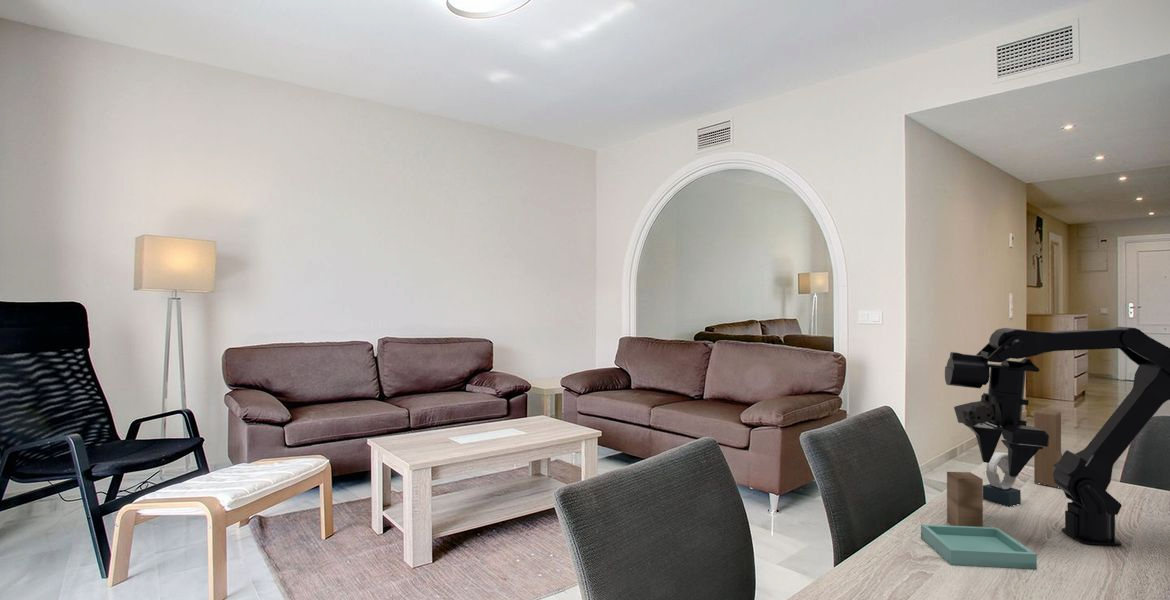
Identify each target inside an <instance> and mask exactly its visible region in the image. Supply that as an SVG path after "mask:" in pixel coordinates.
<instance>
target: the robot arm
mask: <svg viewBox="0 0 1170 600" xmlns="http://www.w3.org/2000/svg"><path fill="white" fill-rule="evenodd" d="M988 340H989V342H988V343H987V344H986V345H985V346H983V347H982V348H981V349H980V350H979V351H978V353H976V354H968V353H961V352H956V351H951V352H950V353H949V358H948V360H947V363H946V366H944V380H945V384H946V385H947V386H953V387H962V388H963V387H964V388H970V389H971V388H973V389H982V387H983V386H986V385H988V389H987V393H986V392H983V394H981V399H980V400H978V401H973V402H972V401H971V402H968V403H964V404H963V403H962V404H960V405H955V406H954V407H953V410H954V413H955V415H956V419H957V423H959V424H963V425H964V426H965V427H967V428H969V429H970V431H971V432H973V433H974V434H975V437H976V440H977V444H978V448H979V452H980V456H981V460H982V462H983V463H986V464H987V463H989V462H990V460H991V458H992V456H993V453H994V452H996V449H997V445H998V444H999V441H1000V442H1002V443H1003V445H1004V446H1005V448H1007V453H1008V467H1009V475H1010V476H1011V477H1016V478H1018V476H1019V474H1020V473H1021V471H1022V470H1023V469H1024V468H1025V466H1027V464H1028V462H1029V461H1030V460H1031V459H1032V458H1033V457H1034V455H1035V454H1036V452H1037V451H1038V450H1039V449H1043V446H1046V447H1047V446H1048V445H1049V435H1048V434H1047V433H1046V432H1045V431H1044V430H1041V429H1038V428H1035V427H1034V426H1032V425H1031V426H1029V425H1027V420H1024V419H1022V418H1023V408H1024V407H1023V406H1029V399H1025V398H1024V397H1025V395H1024V394H1025V386H1026V385H1025V384H1026V382H1025V381H1026V373H1027V372H1034V373H1038V372H1040V370H1041V369H1040V368H1039V367H1038V366H1036V364H1035V363H1033V362H1032V360H1031V358H1030V357H1036V356H1039V355H1043V354H1046V353H1051V352H1062V351H1064V352H1065V351H1085V350H1086V351H1087V350H1091V351H1092V350H1106V349H1107V350H1111V349H1113V350H1114V349H1119V350H1120V351H1121V352H1122V353H1123V354H1124V355H1125V356H1126V357H1127V358H1128V359H1129V360H1130V361H1132V362H1133V363H1134V364H1136V365H1138V367H1137V369H1136V371H1135V373H1134V378H1133V383H1132V385H1133V386H1132V389H1131V390H1130V392H1129V393H1128V394H1127V396H1126V397H1125V398H1124V399H1123V401H1122V402H1121V403H1120V404H1119V406H1117V408H1116V409H1115V410H1114V412H1113V413H1112V414H1111V416H1109V418H1108V419H1107V421H1105V423H1104V424H1103V425H1102V427H1101V428H1100V429H1099V430H1098V432H1097V433H1096V434H1095V435H1094V437H1092V439H1091V440H1090V441H1089V443H1088V444H1087V446H1086V447H1085V448H1083V449H1082V450H1080V451H1078V452H1076V453H1073V452H1072V451H1070V450H1068V449H1067V450H1065V451H1064V452H1063V454H1062V458H1061V459H1060V461H1059V462H1058V463H1056V464H1054V465H1053V466H1054V467H1055V468H1056V469H1055V470H1054V472H1053V478H1054V481H1055V483H1056V485H1057V486H1058V487H1059V488H1058V489H1060V490H1061V491H1063V493H1064V496H1065V498H1067V499H1069V500H1070V501H1071V502H1070V501H1069V502H1068V501H1067V503H1066V504H1067V510H1065V512H1064V518H1065V519H1064V527H1062V528H1061V531H1062V533H1065V534H1066V535H1068V536H1071V538H1074V539H1075V540H1077V541H1079V542H1080V543H1082V544H1085V545H1099V546H1101V545H1104V546H1105V545H1106V546H1123V542H1122V541H1119V540H1117V539H1116V516H1118V514H1119V513H1120V511H1121V508H1122V506H1123V505H1122V504H1121V503H1120V502H1119V501H1118V500H1117V499H1116V498H1115V497H1114V496H1112V494H1110V493H1109V492H1108V491H1107V489H1108V488H1109V485H1110V483H1111V481H1112V476H1113V470H1114V469H1113V468H1114V465H1115V464H1116V462H1117V461H1118V460H1119V459H1120V457H1121V456H1122V454H1124V452H1125V451H1126V450H1127V448H1129V446H1130V445H1131V443H1133V441H1134V440H1136V438H1137V436H1138V435H1139V434H1140V433H1141V431H1142V430H1143V429H1144V428H1145V427H1146V425H1147V424H1148V423H1149V422H1150V420H1151V419H1152V418H1153V417H1154V415H1156V413H1157V412H1158V411H1159V409H1160V408H1161V407H1162V406H1163V405H1164V404H1165V403H1166V402H1168V401H1170V347H1168V346H1166V345H1165V344H1163V343H1162V342H1159V341H1157V340H1156V339H1154V338H1152V337H1151V336H1149V335H1147V334H1146V333H1144V332H1143V331H1142V330H1141V329H1139V328H1137V327H1128V326H1127V327H1126V326H1117V327H1114V328H1112V327H1111V328H1095V329H1094V328H1093V329H1074V330H1054V331H1053V330H1052V331H1040V330H1031V329H1020V328H1010V327H1009V328H1008V327H1003V328H997V329H995V330H994V332H992V334H991V335H990V337H989V339H988ZM1010 359H1013V360H1010ZM1014 359H1016V360H1014ZM1020 359H1022V360H1020ZM1017 360H1018V361H1017ZM1019 360H1020V361H1019ZM996 363H997V364H996ZM999 363H1000V364H999ZM1001 436H1002V437H1003V439H1001ZM1017 475H1018V476H1017Z"/></svg>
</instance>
